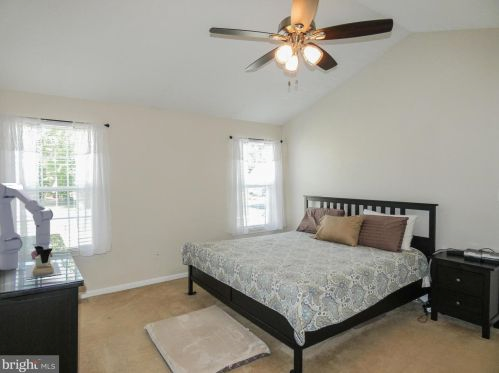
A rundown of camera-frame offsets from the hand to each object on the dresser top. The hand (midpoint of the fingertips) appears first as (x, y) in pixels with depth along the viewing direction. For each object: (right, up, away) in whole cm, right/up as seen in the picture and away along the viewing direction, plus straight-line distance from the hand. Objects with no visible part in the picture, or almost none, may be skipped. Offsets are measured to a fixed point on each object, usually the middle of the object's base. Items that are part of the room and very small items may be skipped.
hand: (43, 261), depth 146 cm
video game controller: (-20, -6, +28) cm, 35 cm away
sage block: (0, -2, 0) cm, 2 cm away
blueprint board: (-3, -6, +4) cm, 8 cm away
